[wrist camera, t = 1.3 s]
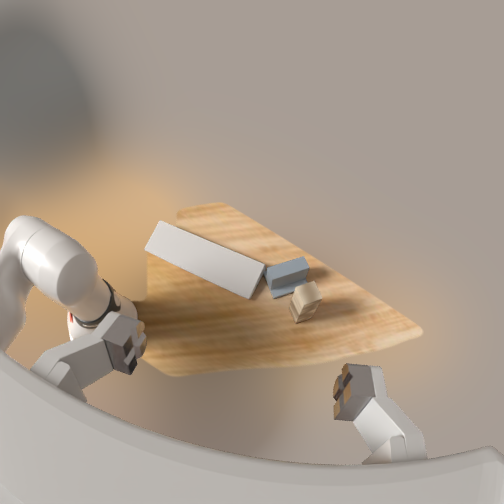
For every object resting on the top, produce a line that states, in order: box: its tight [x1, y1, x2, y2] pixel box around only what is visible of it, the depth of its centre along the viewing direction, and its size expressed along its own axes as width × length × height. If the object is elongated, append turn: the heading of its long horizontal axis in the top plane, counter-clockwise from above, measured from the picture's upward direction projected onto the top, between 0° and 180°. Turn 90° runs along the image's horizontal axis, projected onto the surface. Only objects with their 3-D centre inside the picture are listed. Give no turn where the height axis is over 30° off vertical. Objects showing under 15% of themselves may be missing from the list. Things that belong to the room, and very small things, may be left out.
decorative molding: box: [144, 220, 266, 299], centre depth 79 cm, size 34×5×10 cm
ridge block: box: [263, 256, 309, 299], centre depth 74 cm, size 10×8×7 cm
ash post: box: [289, 281, 322, 324], centre depth 66 cm, size 4×4×13 cm
